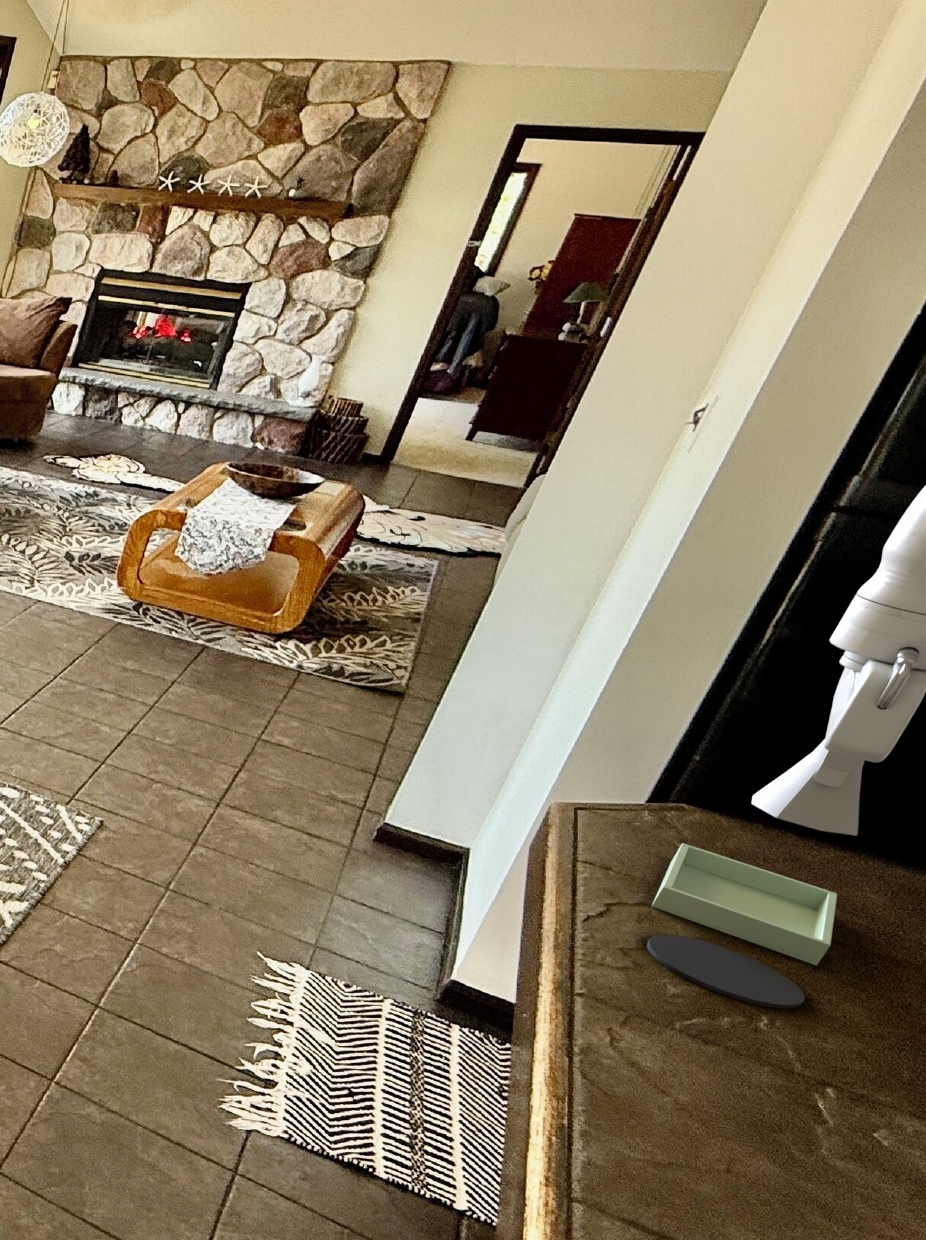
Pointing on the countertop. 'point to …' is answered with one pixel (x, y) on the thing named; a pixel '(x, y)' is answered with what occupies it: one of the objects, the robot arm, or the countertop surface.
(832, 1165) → the countertop surface
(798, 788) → the flask
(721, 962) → the mat
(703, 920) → the tray
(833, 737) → the robot arm
